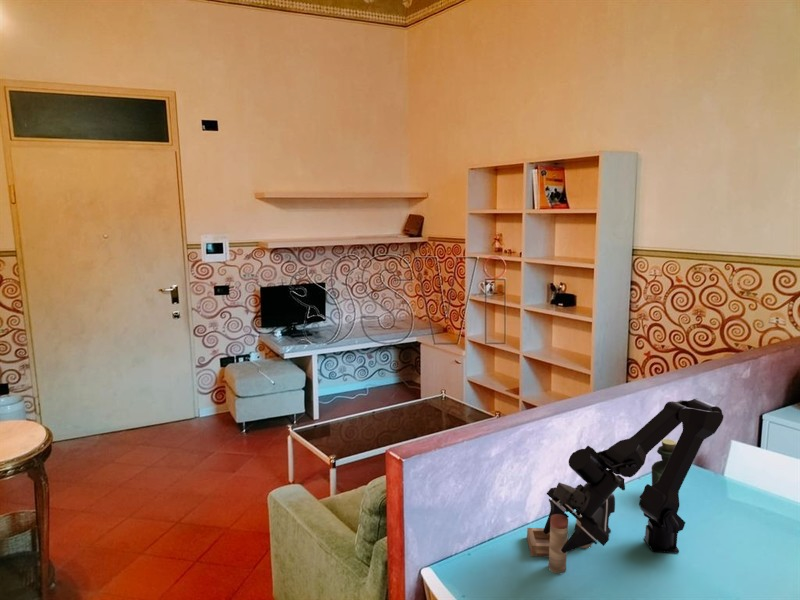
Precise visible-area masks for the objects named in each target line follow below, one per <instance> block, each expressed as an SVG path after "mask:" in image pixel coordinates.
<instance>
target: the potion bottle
mask: <svg viewBox="0 0 800 600" xmlns="http://www.w3.org/2000/svg"><path fill="white" fill-rule="evenodd" d="M676 444H677V441H675V440H673V439H669V438H664V439H663V440H662V441H661V445H660V446H658V448H657V450H656V452H657V454H658V455H660V457H661V460H658V461H655V462H654V463H653V464H652V466H651V486H652V485H653V484H655V483H657V482H658V481H659V479H660V477H661V475H662V473H663V471H664V469H665V466H666V464H667V462H668V460H669V458H670V456H671V454H672V452H673V450H674V448H675V446H676ZM679 493H680V491H679V492H678V494H679Z"/></svg>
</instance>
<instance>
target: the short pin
mask: <svg viewBox="0 0 800 600" xmlns="http://www.w3.org/2000/svg"><path fill="white" fill-rule="evenodd" d="M580 517H582V515H581V514H580ZM580 517H579V518H580ZM575 524H577V525H578V526H579V527H582V526H581V522H580V521H578V520H577V519H576V518H575ZM592 544H593V543H592ZM592 544H588V545H585V546H582V547H581V548H580V549H584V548H587V549H590V548H591V547H592V546H593V545H592ZM591 545H592V546H591ZM589 547H590V548H589Z"/></svg>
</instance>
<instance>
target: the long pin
mask: <svg viewBox="0 0 800 600" xmlns="http://www.w3.org/2000/svg"><path fill="white" fill-rule="evenodd" d="M568 529H569V517H568V518H567V517H566V516H564V515H561V514H554V515H552V516H551V520H550V545H549V557H548V570H549V569H550V570H551V571H550V570H549V571H550V572H551V573H553V572H554V573H553V574H556V573H562V574H565V573H566V571H567V557H568V555H567V553H568V552H566V553H563V552H562V551H561V549H562V547H563V546H564V544H565V543H566V542H567V540H568V531H569V530H568Z"/></svg>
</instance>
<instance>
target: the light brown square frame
mask: <svg viewBox="0 0 800 600" xmlns="http://www.w3.org/2000/svg"><path fill="white" fill-rule="evenodd" d="M543 530H544V528H543V527H540V528H539V527H527V531H526V532H527V534H526V540H527V545H528V548H529V553H530V557H544V558H545V557H547V558H549V545H550V532H549V533H548V534H545V533H544V532H543Z"/></svg>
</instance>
